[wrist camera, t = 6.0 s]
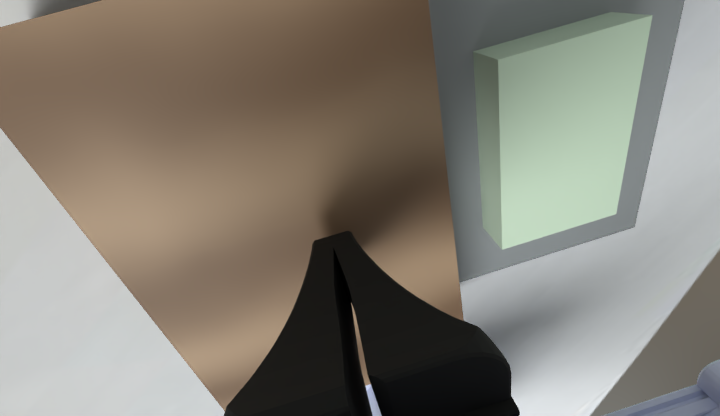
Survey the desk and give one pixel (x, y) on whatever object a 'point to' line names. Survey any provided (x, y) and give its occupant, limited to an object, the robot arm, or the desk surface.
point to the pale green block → (557, 124)
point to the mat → (459, 118)
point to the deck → (237, 154)
